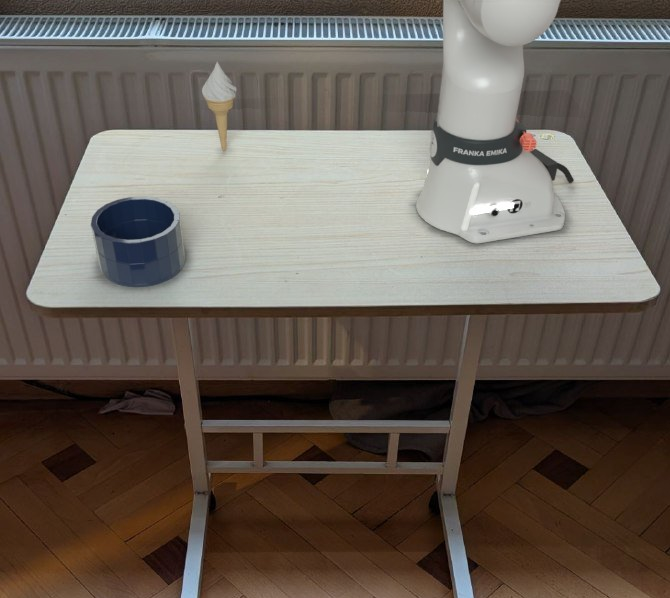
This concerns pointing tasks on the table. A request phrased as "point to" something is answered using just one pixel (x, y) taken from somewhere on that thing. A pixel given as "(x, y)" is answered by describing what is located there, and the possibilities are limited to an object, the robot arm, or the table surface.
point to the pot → (138, 241)
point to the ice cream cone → (219, 99)
